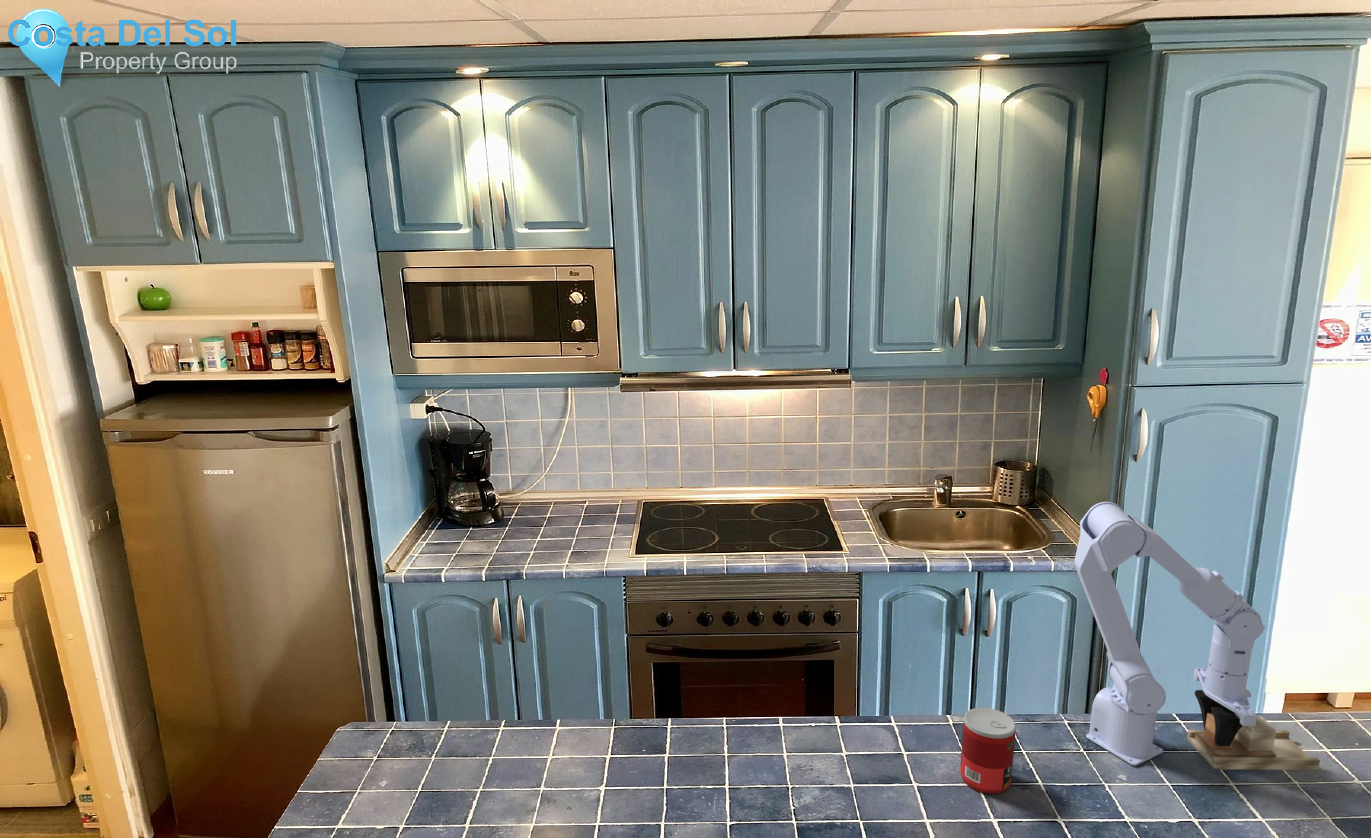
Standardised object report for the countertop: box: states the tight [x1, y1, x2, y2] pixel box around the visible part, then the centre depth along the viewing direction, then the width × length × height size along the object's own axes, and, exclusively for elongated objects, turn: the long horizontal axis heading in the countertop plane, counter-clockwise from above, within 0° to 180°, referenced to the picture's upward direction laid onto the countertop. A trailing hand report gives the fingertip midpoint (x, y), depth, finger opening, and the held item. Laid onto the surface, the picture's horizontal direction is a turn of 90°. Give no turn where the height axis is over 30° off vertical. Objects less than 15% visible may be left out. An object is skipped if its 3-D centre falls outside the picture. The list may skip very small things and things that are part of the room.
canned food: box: [959, 707, 1017, 795], centre depth 138 cm, size 8×8×11 cm
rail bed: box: [1186, 729, 1321, 771], centre depth 145 cm, size 17×8×2 cm, turn 88°
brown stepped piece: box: [1195, 713, 1276, 757], centre depth 144 cm, size 10×6×6 cm, turn 88°
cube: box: [1235, 715, 1277, 751], centre depth 144 cm, size 4×4×4 cm
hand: (1217, 738), depth 145 cm, fingers closed on brown stepped piece, 3 cm apart
